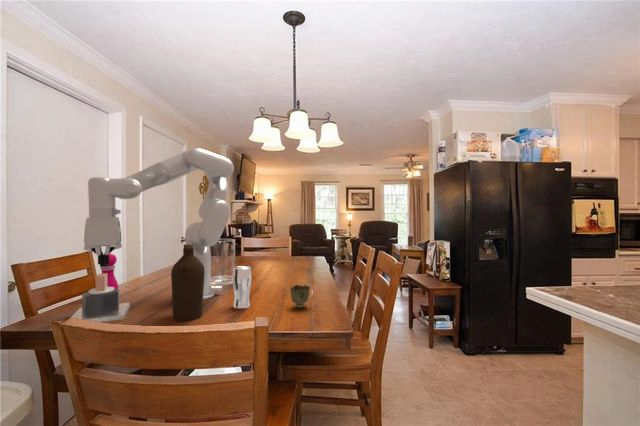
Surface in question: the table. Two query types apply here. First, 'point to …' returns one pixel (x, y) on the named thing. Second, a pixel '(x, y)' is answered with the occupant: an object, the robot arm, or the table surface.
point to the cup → (299, 295)
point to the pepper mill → (110, 272)
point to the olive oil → (187, 286)
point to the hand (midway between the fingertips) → (103, 266)
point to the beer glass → (241, 286)
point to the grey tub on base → (102, 307)
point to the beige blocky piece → (101, 285)
